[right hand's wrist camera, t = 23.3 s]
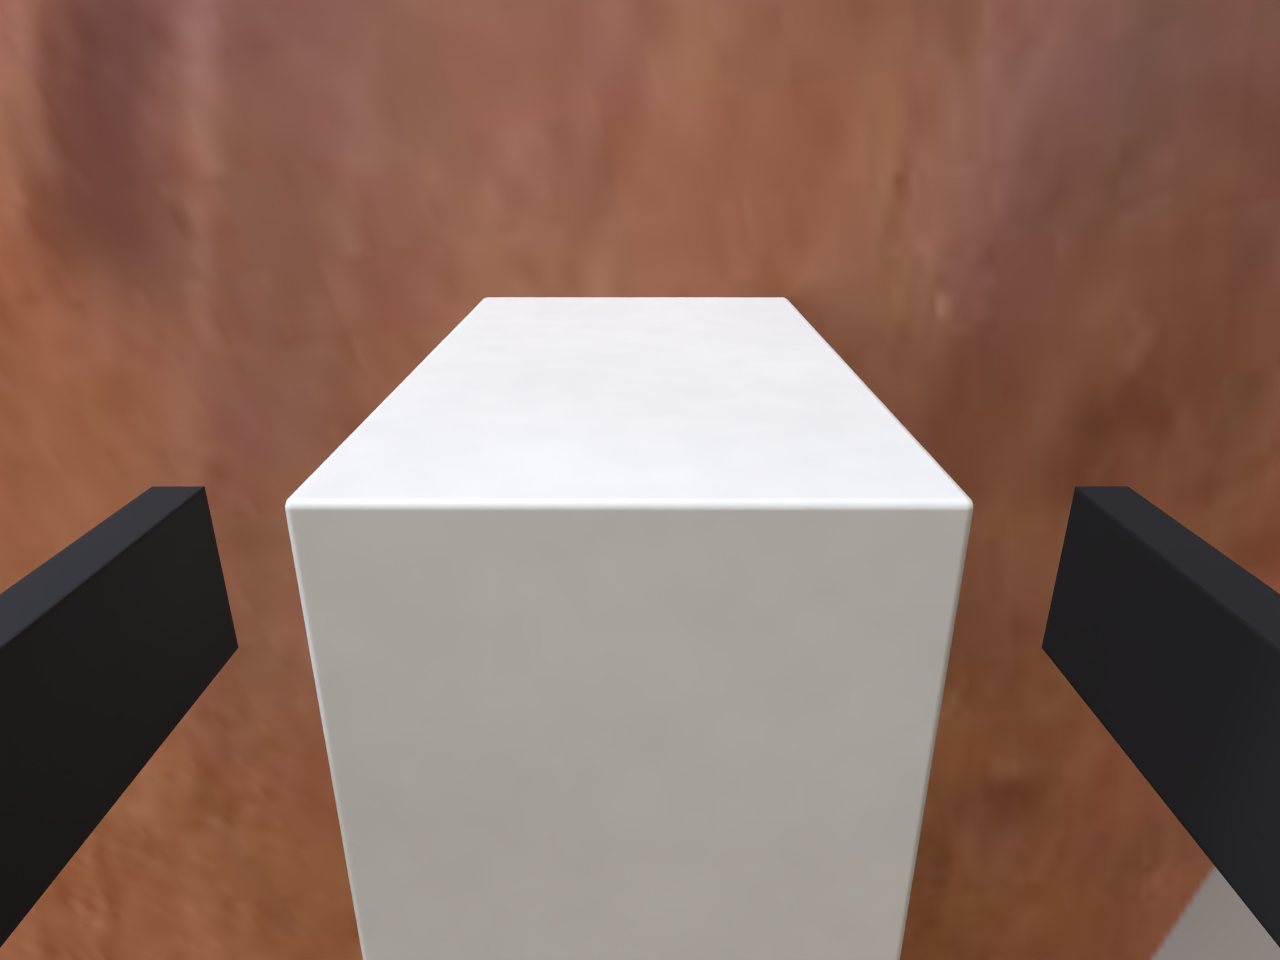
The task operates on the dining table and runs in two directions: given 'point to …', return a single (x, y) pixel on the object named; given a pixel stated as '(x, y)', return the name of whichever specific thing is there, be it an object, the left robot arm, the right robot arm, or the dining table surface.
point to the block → (630, 639)
